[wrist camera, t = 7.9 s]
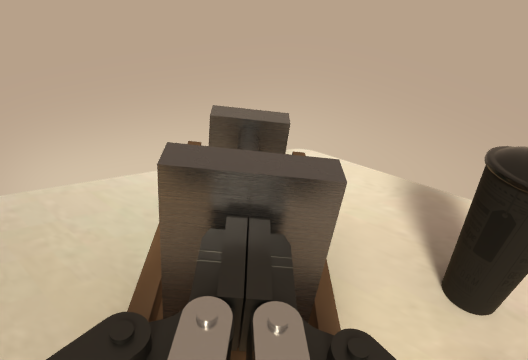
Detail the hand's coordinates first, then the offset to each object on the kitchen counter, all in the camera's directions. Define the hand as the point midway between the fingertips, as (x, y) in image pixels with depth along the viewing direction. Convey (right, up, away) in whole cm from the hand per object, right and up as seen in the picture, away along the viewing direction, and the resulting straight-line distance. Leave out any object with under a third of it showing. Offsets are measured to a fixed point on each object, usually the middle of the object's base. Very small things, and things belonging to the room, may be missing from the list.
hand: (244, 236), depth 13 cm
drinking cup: (+20, -9, +23) cm, 31 cm away
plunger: (-1, -1, +11) cm, 11 cm away
